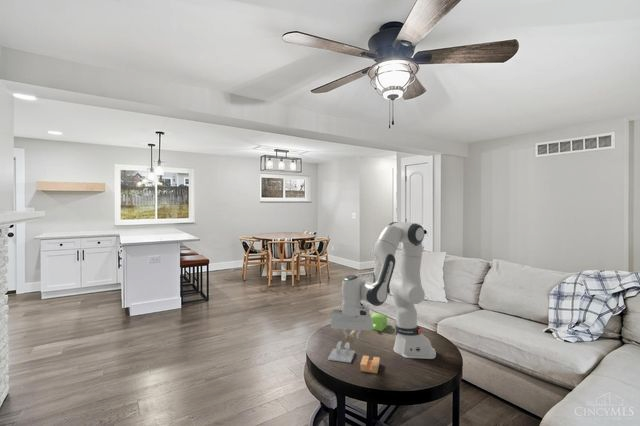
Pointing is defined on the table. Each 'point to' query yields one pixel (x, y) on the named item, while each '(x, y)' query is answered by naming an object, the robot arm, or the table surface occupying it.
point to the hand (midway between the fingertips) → (351, 338)
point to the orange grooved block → (370, 364)
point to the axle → (352, 336)
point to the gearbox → (379, 321)
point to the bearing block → (342, 353)
